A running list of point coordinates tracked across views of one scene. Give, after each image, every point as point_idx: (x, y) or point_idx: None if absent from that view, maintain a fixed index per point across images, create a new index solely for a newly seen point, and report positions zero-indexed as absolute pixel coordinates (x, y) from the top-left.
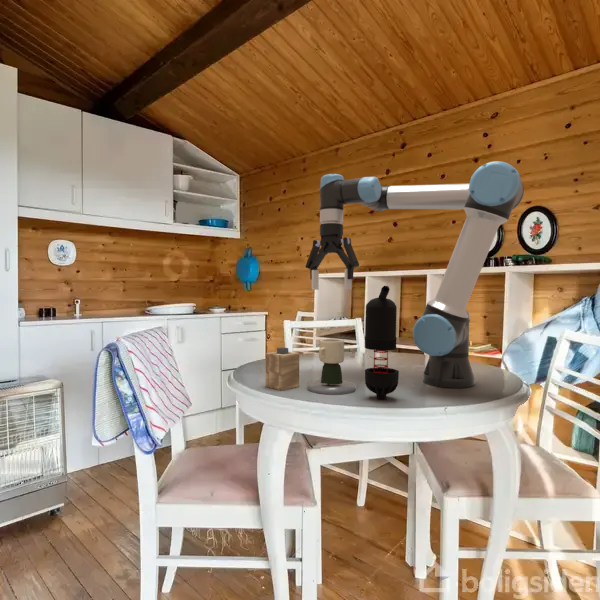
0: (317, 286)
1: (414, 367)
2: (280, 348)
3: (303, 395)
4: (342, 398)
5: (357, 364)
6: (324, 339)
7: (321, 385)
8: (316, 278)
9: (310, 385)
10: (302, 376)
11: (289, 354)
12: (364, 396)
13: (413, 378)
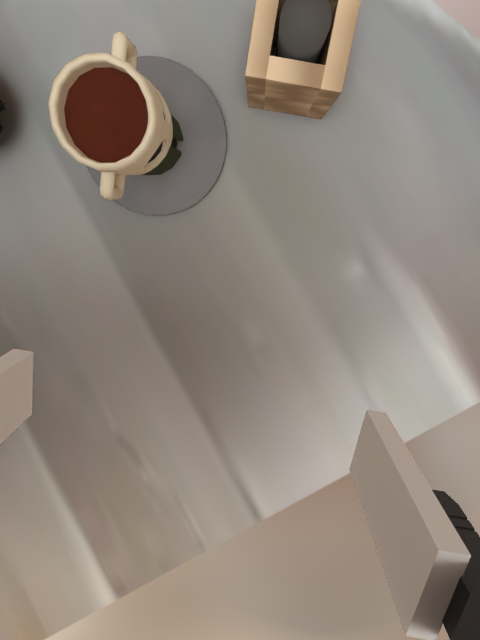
0: (359, 475)
1: (115, 540)
2: (311, 7)
3: (174, 7)
4: (66, 49)
5: (270, 505)
6: (147, 126)
7: (169, 110)
8: (384, 516)
9: (196, 88)
10: (321, 251)
11: (257, 9)
12: (34, 112)
13: (47, 402)
